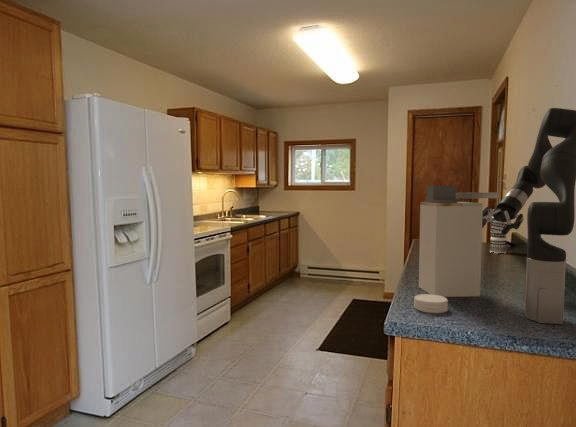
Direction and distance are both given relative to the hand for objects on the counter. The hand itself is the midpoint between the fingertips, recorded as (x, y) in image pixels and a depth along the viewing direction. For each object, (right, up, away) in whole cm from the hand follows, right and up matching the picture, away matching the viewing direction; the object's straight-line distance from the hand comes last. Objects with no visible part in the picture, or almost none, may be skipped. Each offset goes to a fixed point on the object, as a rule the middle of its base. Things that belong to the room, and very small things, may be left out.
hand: (491, 230), depth 147 cm
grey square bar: (-13, +10, -7) cm, 18 cm away
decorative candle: (+45, -16, +79) cm, 92 cm away
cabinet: (-18, -22, -5) cm, 29 cm away
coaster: (-31, -24, -24) cm, 46 cm away
